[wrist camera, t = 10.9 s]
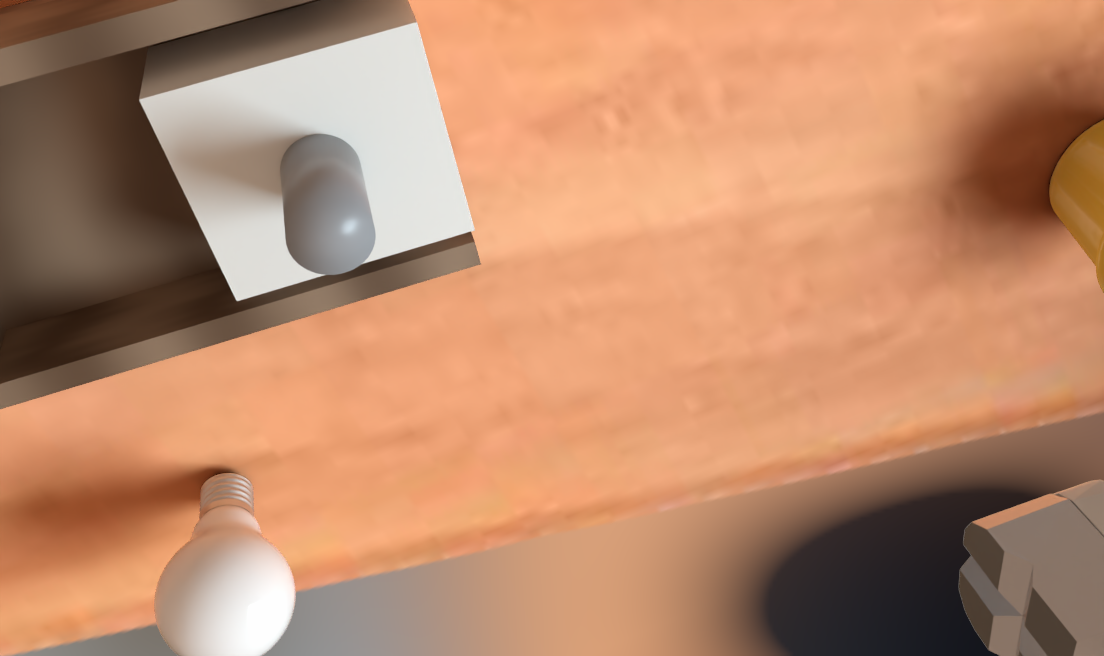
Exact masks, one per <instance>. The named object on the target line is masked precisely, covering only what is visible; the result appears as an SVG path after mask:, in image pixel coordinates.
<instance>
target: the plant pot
mask: <svg viewBox="0 0 1104 656" xmlns="http://www.w3.org/2000/svg"><path fill="white" fill-rule="evenodd" d="M1049 197H1050V203H1051V206H1052V208H1053V210H1054V212H1055V213H1056V215H1057V216H1058V217H1059V219H1060V220H1061V221H1062V223H1063V224H1064V225H1065V226H1066V228H1067V229H1068V230H1069V232H1070V233H1071V234H1072V236H1073V237H1074V238H1075V239H1076V241H1077V242H1078V243H1079V245H1080V246H1081V247H1082V249H1083V250H1084V251H1085V252H1086V254H1087V255H1088V256H1089V258H1090V259H1091V260H1092V262H1093V263H1094V264H1095V266H1096V274H1097V279H1098V282H1099V285H1100V287H1101V289H1102V291H1103V293H1104V120H1102V121H1100V122H1098V123H1096V124H1095V125H1093V126H1092V127H1090V128H1089V129H1087V130H1086V131H1085V132H1083V133H1082V134H1081V135H1080V136H1079V137H1078V138H1076V139H1075V140H1074V141H1073V142H1072V144H1071V145H1070V146H1069V147H1068V148H1067V150H1066V151H1065V152H1064V154H1063V155H1062V157H1061V158H1060V160H1059V161H1058V163H1057V165H1056V167H1055V169H1054V172H1053V174H1052V177H1051V181H1050V187H1049Z"/></svg>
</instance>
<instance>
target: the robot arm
mask: <svg viewBox="0 0 1104 656" xmlns="http://www.w3.org/2000/svg"><path fill="white" fill-rule="evenodd" d="M963 545H964V546H965V547H966V549H967V550H968V551H969V553H970V554H971V557H970V558H969V559H968V560H967V561H966V562H965V564H964V565H963V566H962V567H961V569H960V576H959V591H960V595H961V598H962V602H963V605H964V609H965V612H966V614H967V616H968V618H969V620H970V621H971V624H972V626H973V627H974V629H975V631H976V633H977V634H978V635H979V637H980V638H981V640H982V641H983V643H984V644H985V645H986V647H987V648H988V650H990V651H992V652H994V653H996V654H998V655H999V656H1104V481H1103V480H1092V481H1089V482H1086V483H1083V484H1080V485H1077V486H1074V487H1072V488H1069V489H1066V490H1063V491H1060V492H1057V493H1055V494H1049V495H1046V496H1043V497H1040V498H1037V499H1034V500H1032V501H1029V502H1026V503H1023V504H1021V505H1018V506H1015V507H1012V508H1009V509H1007V510H1004V511H1001V512H998V513H996V514H993V515H990V516H987V517H984V518H982V519H979V520H976V521H973V522H971V523H970V524H969V525H968V526H967V527H966V528H965V532H964V540H963Z"/></svg>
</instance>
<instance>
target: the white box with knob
mask: <svg viewBox="0 0 1104 656" xmlns="http://www.w3.org/2000/svg"><path fill="white" fill-rule="evenodd" d="M139 101H140V103H141V105H142V107H143V109H144V111H145V113H146V115H147V117H148V119H149V121H150V123H151V126H152V128H153V130H154V132H155V134H156V136H157V138H158V140H159V142H160V144H161V146H162V148H163V150H164V152H165V154H166V156H167V159H168V161H169V163H170V165H171V167H172V169H173V171H174V173H175V175H176V177H177V179H178V181H179V183H180V185H181V187H182V189H183V192H184V194H185V196H186V198H187V200H188V202H189V204H190V206H191V208H192V210H193V212H194V214H195V216H196V218H197V220H198V222H199V225H200V227H201V229H202V231H203V233H204V235H205V237H206V239H207V241H208V243H209V245H210V247H211V249H212V251H213V253H214V255H215V258H216V260H217V262H218V264H219V266H220V268H221V270H222V272H223V274H224V276H225V278H226V280H227V282H228V284H229V286H230V288H231V291H232V293H233V295H234V297H235V299H236V301H240V300H243V299H246V298H250V297H253V296H257V295H260V294H263V293H267V292H270V291H273V290H277V289H280V288H283V287H287V286H290V285H293V284H297V283H300V282H303V281H307V280H310V279H313V278H317V277H320V276H323V275H336V274H342V273H345V272H348V271H351V270H353V269H355V268H356V267H358V266H360V265H361V264H364V263H367V262H370V261H374V260H377V259H380V258H384V257H387V256H390V255H394V254H397V253H400V252H404V251H407V250H411V249H414V248H417V247H421V246H424V245H427V244H431V243H434V242H437V241H441V240H444V239H447V238H451V237H454V236H457V235H461V234H464V233H467V232H471V231H474V230H475V229H474V225H473V222H472V218H471V215H470V211H469V208H468V204H467V200H466V197H465V193H464V190H463V186H462V182H461V179H460V175H459V172H458V168H457V164H456V161H455V157H454V154H453V150H452V146H451V143H450V139H449V136H448V132H447V129H446V125H445V121H444V118H443V114H442V111H441V107H440V103H439V100H438V96H437V93H436V89H435V85H434V82H433V78H432V75H431V71H430V67H429V64H428V60H427V57H426V53H425V50H424V46H423V42H422V39H421V35H420V32H419V28H418V24H417V21H416V19H415V16H414V14H413V12H412V9H411V7H410V4H409V2H408V0H319V1H316V2H312V3H308V4H305V5H301V6H298V7H294V8H290V9H287V10H283V11H279V12H276V13H272V14H268V15H265V16H261V17H258V18H254V19H250V20H247V21H243V22H239V23H236V24H232V25H228V26H225V27H221V28H218V29H214V30H210V31H207V32H203V33H199V34H196V35H192V36H189V37H185V38H181V39H178V40H174V41H170V42H167V43H163V44H159V45H156V46H152V47H149V48H148V53H147V58H146V64H145V69H144V75H143V80H142V86H141V91H140V97H139Z"/></svg>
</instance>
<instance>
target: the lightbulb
mask: <svg viewBox="0 0 1104 656" xmlns="http://www.w3.org/2000/svg"><path fill="white" fill-rule="evenodd" d="M200 495H201V496H200V515H199V521H198V522H197V524H196V525H195V527H194V530H193V533H192V536H191V539H190V541H188V542H187V543H186V544H185V545H184V546H183V547H182V548H180V549H179V550H178V551H177V552H176V553H175V555H174V556H173V557H172V558H171V559H170V561H169V562H168V563H167V565H166V567H165V568H164V570H163V572H162V574H161V576H160V578H159V581H158V584H157V587H156V592H155V599H154V612H155V618H156V622H157V626H158V629H159V631H160V633H161V635H162V637H163V639H164V640H165V642H166V643H167V644H168V646H169V647H170V648H171V649H172V650H173V651H174V652H175V653H176V654H177V655H178V656H262V655H264V654H265V653H266V652H268V651H269V650H270V649H271V648H272V647H273V646H274V645H275V644H276V643H277V642H278V641H279V639H280V638H281V637H282V635H283V634H284V632H285V630H286V629H287V627H288V625H289V622H290V620H291V617H292V614H293V611H294V605H295V595H296V593H295V582H294V578H293V574H292V571H291V569H290V566H289V564H288V562H287V561H286V559H285V558H284V556H283V555H282V553H281V552H280V551H279V550H278V549H277V548H276V547H275V546H274V545H273V544H272V543H271V542H270V541H268V540H267V539H266V538H264V537H263V536H262V533H261V529H260V526H259V524H258V522H257V520H256V519H255V518H254V497H253V495H254V492H253V486H252V484H251V482H250V481H249V480H248V479H247V478H245V477H244V476H241V475H239V474H234V473H223V474H218V475H215V476H213V477H211V478H209V479H208V480H207V481H206V482H205V483H204V484H203V485H202V487H201V491H200Z"/></svg>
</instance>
